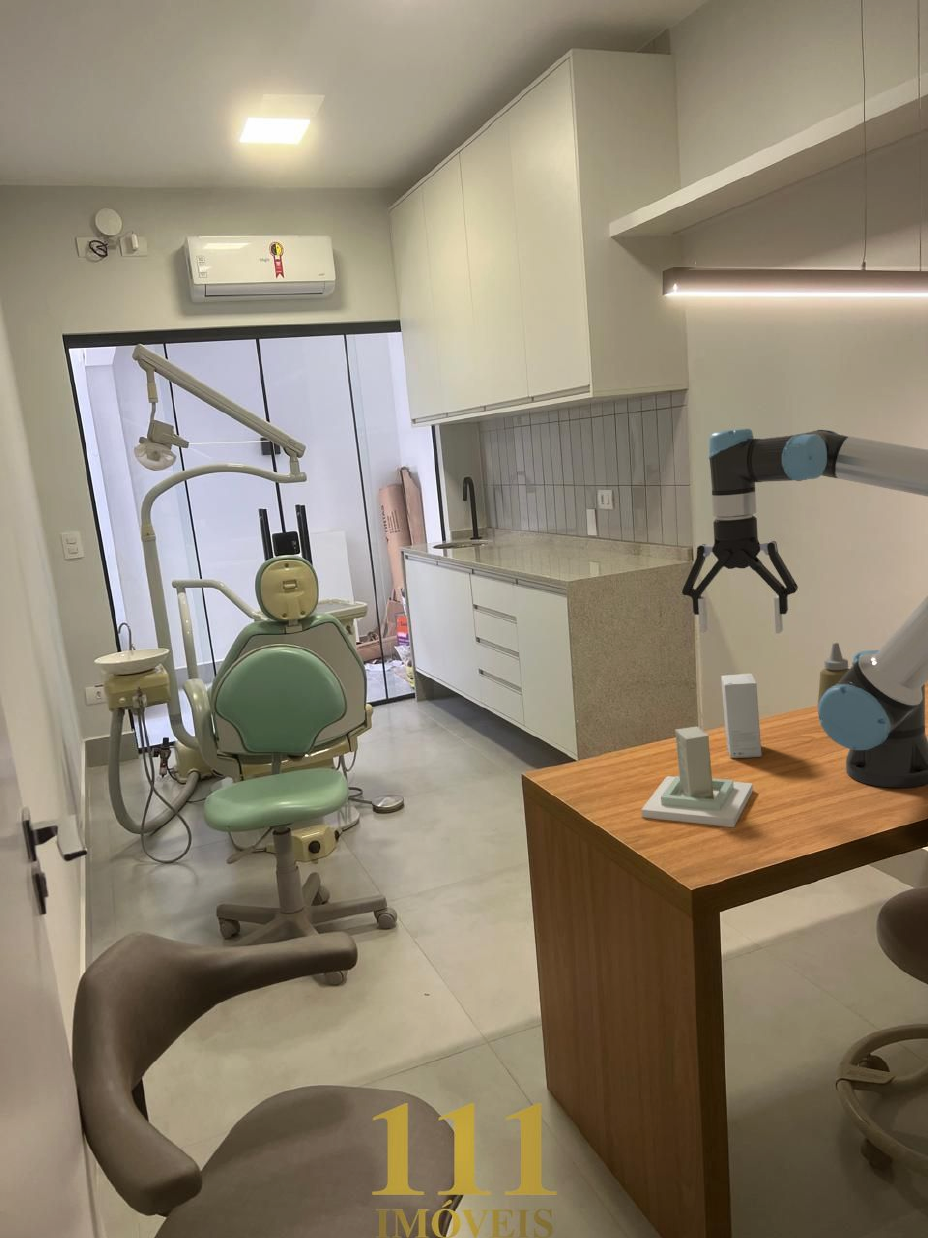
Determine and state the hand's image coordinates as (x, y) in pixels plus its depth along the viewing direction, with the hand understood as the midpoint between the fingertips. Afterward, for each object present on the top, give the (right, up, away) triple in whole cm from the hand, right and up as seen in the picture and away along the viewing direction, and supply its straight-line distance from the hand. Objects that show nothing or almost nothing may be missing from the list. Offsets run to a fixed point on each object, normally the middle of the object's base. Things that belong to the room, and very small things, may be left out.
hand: (740, 631), depth 166 cm
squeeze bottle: (+30, -21, +29) cm, 46 cm away
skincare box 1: (-9, -30, -4) cm, 31 cm away
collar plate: (-9, -31, -4) cm, 32 cm away
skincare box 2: (+6, -25, +19) cm, 32 cm away
